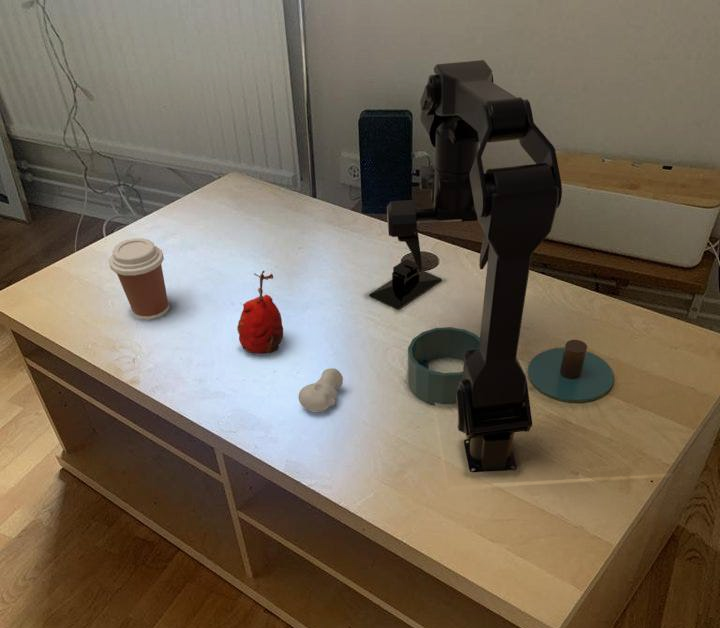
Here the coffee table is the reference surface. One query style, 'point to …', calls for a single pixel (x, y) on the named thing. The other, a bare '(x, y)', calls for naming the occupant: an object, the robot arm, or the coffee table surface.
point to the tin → (437, 345)
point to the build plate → (404, 285)
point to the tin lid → (570, 373)
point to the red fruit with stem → (260, 323)
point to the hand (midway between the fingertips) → (450, 269)
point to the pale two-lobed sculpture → (321, 391)
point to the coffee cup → (141, 276)
